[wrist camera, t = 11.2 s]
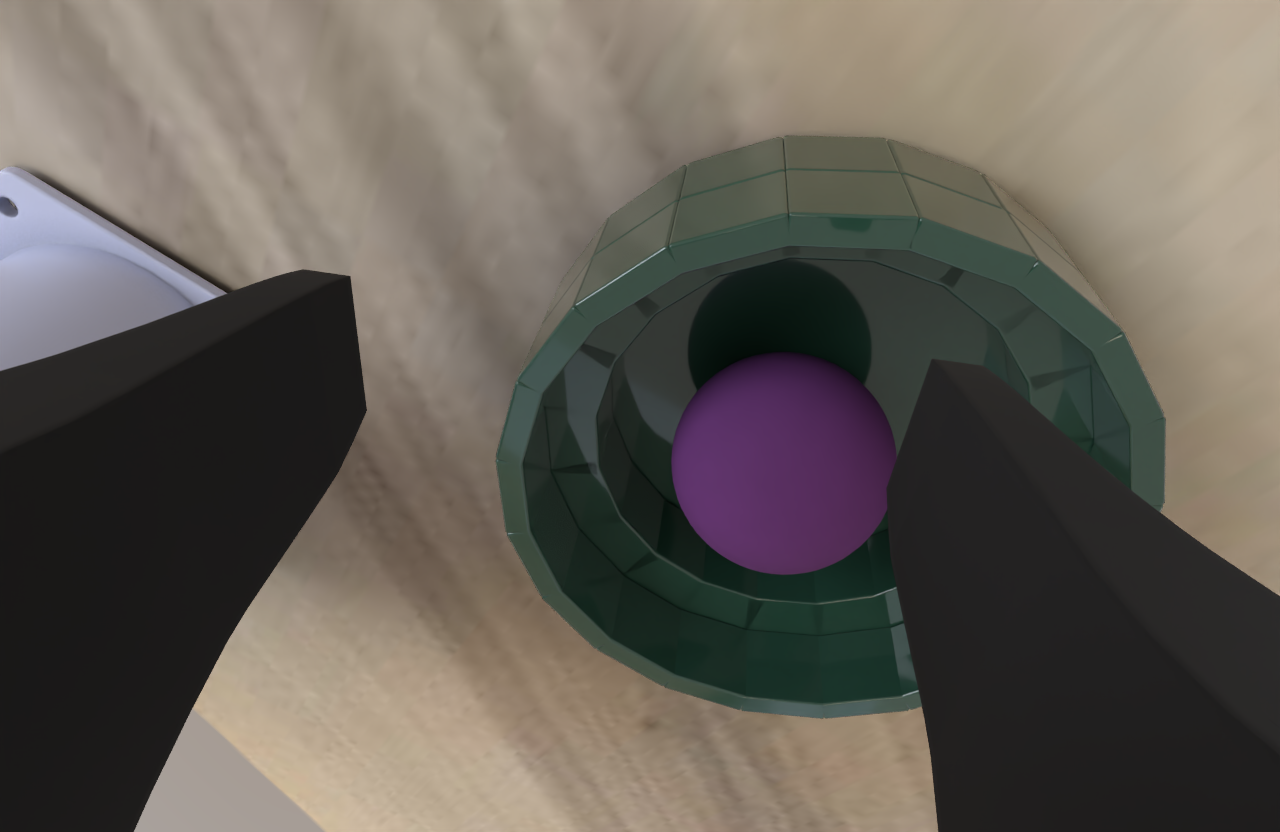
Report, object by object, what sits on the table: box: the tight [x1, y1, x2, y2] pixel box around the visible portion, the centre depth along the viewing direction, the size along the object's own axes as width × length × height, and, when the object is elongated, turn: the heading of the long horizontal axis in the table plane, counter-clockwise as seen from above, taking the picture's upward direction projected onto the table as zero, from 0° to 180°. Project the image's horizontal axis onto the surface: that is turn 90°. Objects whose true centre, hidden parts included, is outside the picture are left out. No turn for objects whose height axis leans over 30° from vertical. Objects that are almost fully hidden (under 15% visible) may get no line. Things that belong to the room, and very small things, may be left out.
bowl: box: [496, 136, 1166, 719], centre depth 19 cm, size 13×13×5 cm
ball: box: [671, 352, 897, 575], centre depth 19 cm, size 5×5×5 cm
